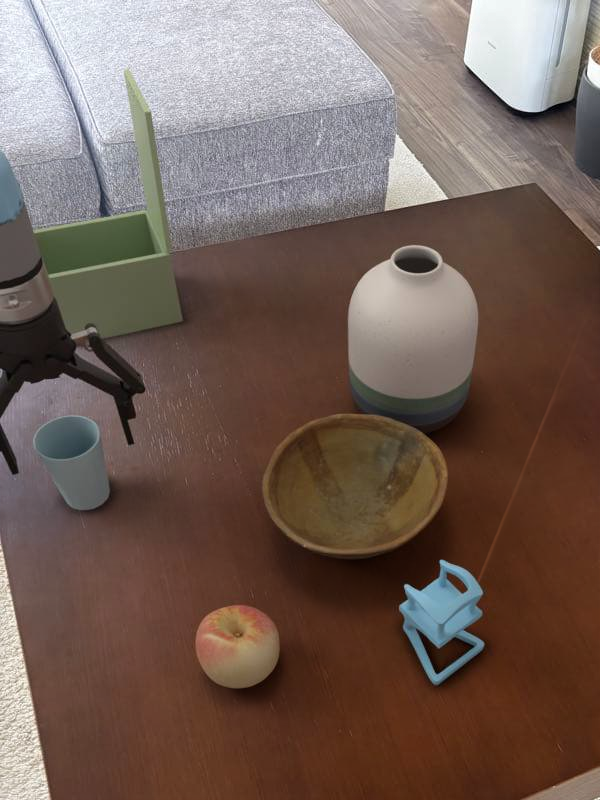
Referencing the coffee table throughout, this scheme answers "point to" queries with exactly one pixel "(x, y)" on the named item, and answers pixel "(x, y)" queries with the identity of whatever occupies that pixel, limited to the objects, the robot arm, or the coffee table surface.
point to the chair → (443, 616)
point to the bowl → (354, 485)
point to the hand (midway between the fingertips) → (72, 452)
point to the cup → (74, 460)
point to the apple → (237, 646)
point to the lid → (148, 158)
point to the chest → (110, 274)
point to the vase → (412, 339)
